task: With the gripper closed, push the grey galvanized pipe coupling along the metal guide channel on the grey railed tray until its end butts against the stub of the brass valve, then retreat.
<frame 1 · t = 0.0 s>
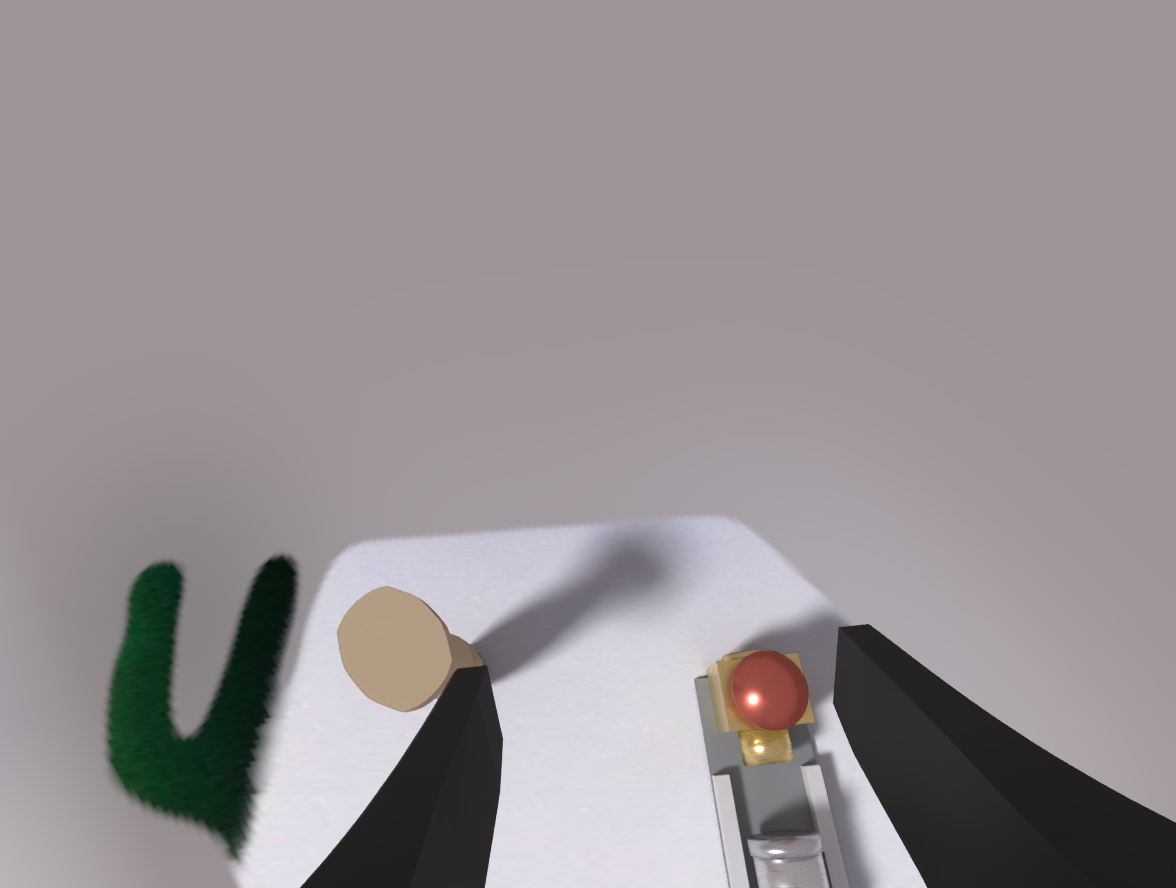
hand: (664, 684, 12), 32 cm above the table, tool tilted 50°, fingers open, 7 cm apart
valve: (747, 696, 41), resting on grey railed tray
grey railed tray: (776, 841, 37), on the table
coupling: (786, 878, 36), resting on grey railed tray
handle: (466, 674, 43), on the table
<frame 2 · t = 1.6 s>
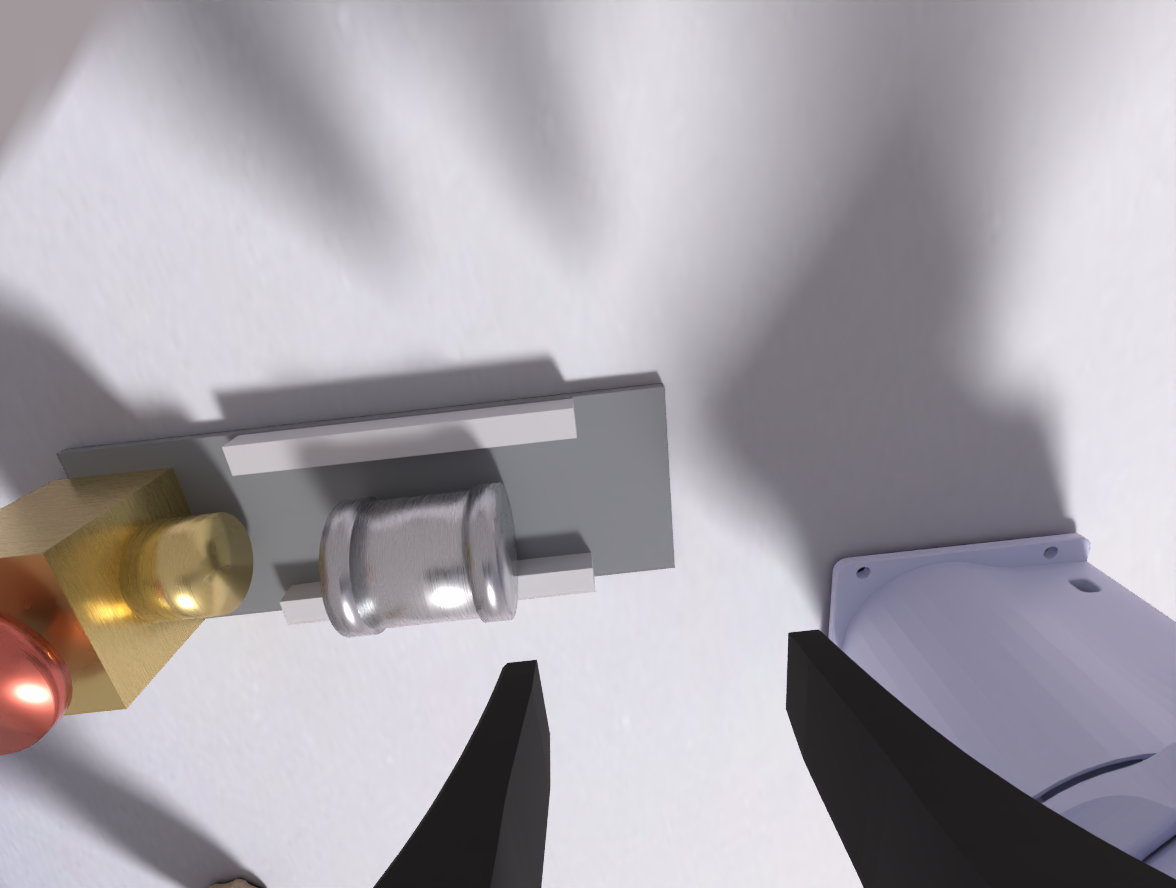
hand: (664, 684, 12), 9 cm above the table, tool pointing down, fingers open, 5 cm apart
valve: (151, 534, 21), resting on grey railed tray
grey railed tray: (387, 508, 21), on the table
coupling: (438, 509, 20), resting on grey railed tray, tilted 18°
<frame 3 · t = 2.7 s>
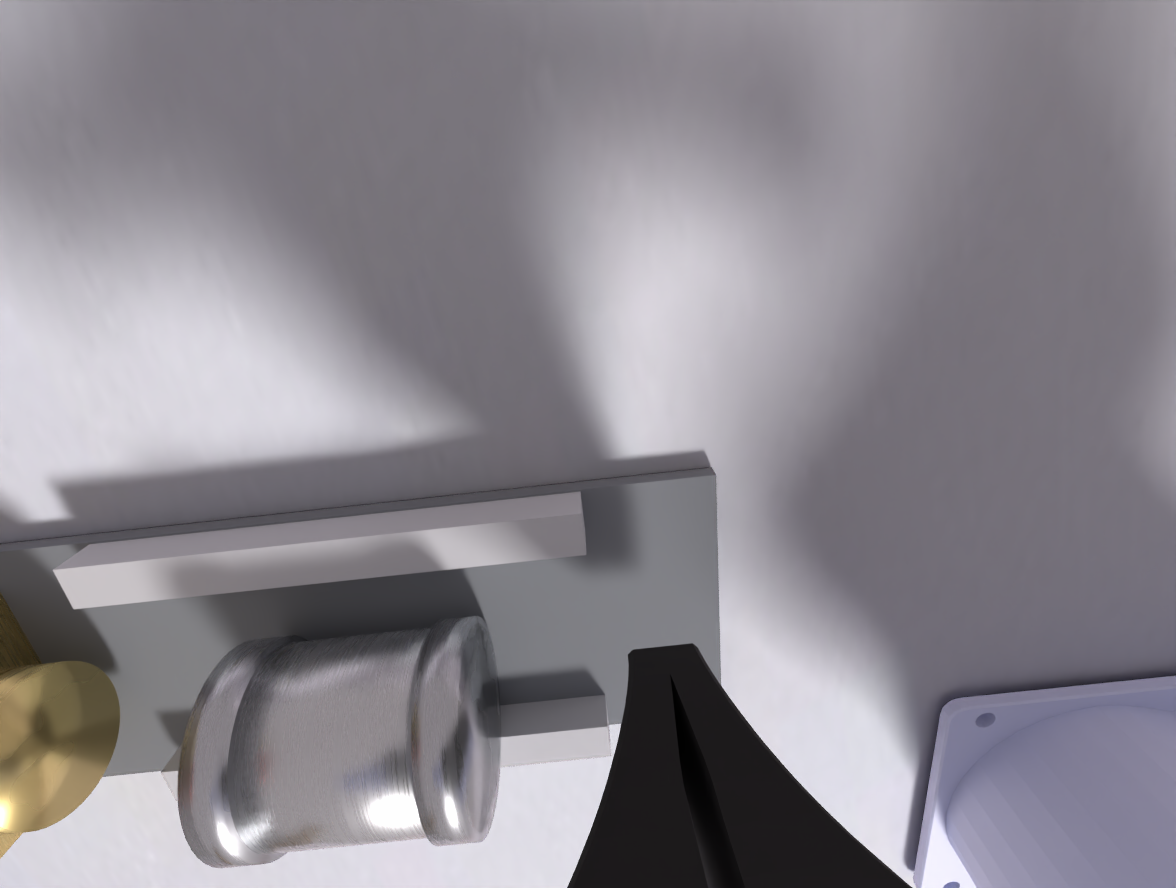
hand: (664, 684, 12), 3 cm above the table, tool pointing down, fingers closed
grey railed tray: (317, 636, 15), on the table
coupling: (386, 642, 14), resting on grey railed tray, tilted 18°
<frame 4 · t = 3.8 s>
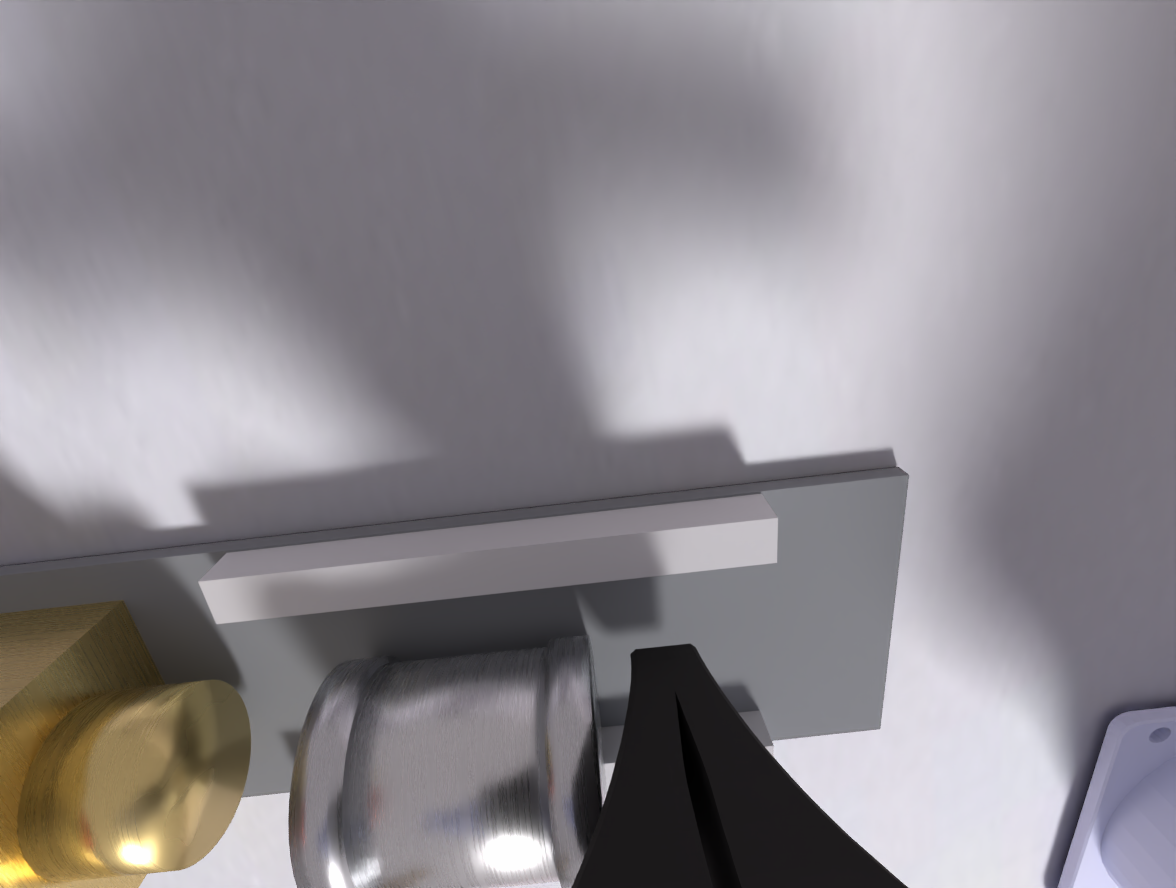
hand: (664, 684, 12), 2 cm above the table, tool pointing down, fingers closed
valve: (96, 689, 14), resting on grey railed tray
grey railed tray: (455, 650, 14), on the table
coupling: (481, 661, 13), resting on grey railed tray, tilted 18°, touching gripper
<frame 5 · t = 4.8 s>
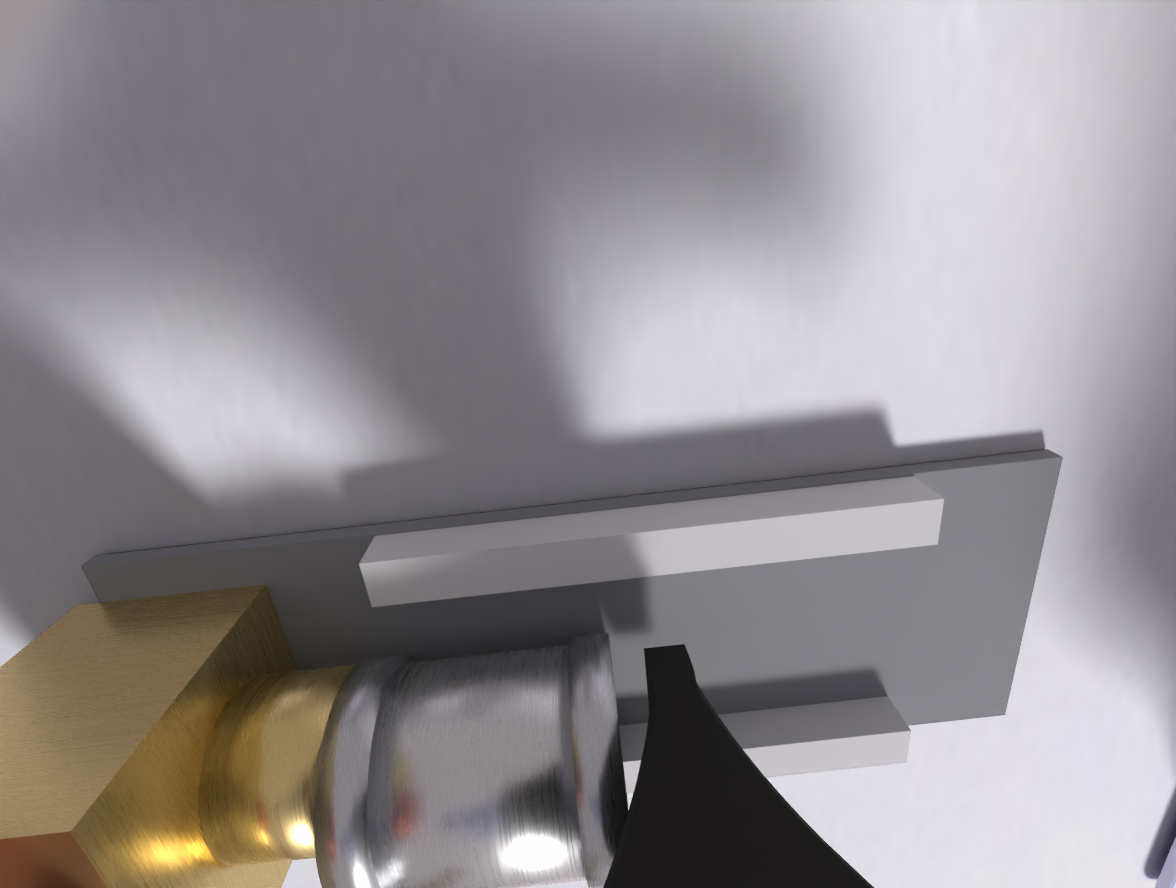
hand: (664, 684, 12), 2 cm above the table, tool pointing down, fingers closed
valve: (223, 676, 14), resting on grey railed tray
grey railed tray: (587, 635, 13), on the table
coupling: (499, 660, 13), point 1 cm above the table, tilted 18°, touching grey railed tray, gripper, valve
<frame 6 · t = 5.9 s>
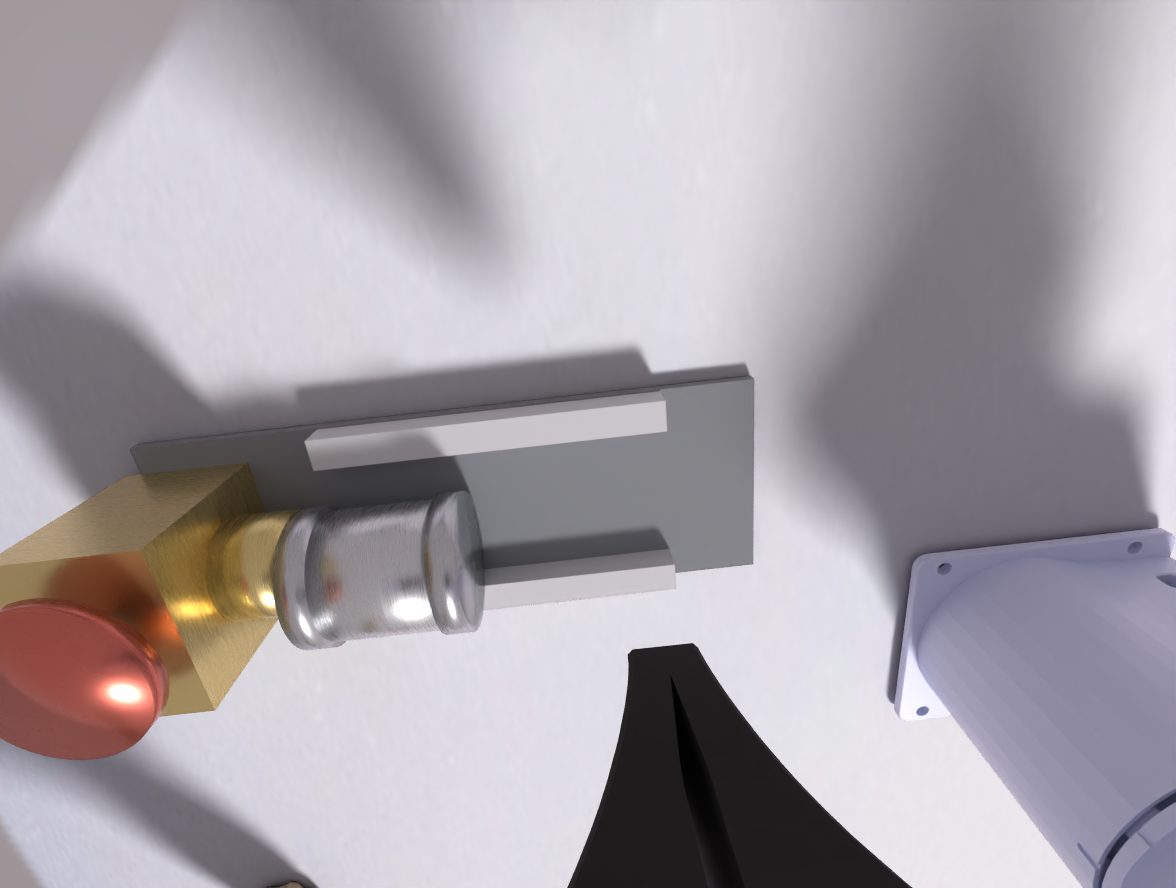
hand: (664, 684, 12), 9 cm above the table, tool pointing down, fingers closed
valve: (221, 531, 20), resting on grey railed tray
grey railed tray: (463, 504, 20), on the table
coupling: (402, 517, 20), point 1 cm above the table, tilted 18°, touching grey railed tray, valve
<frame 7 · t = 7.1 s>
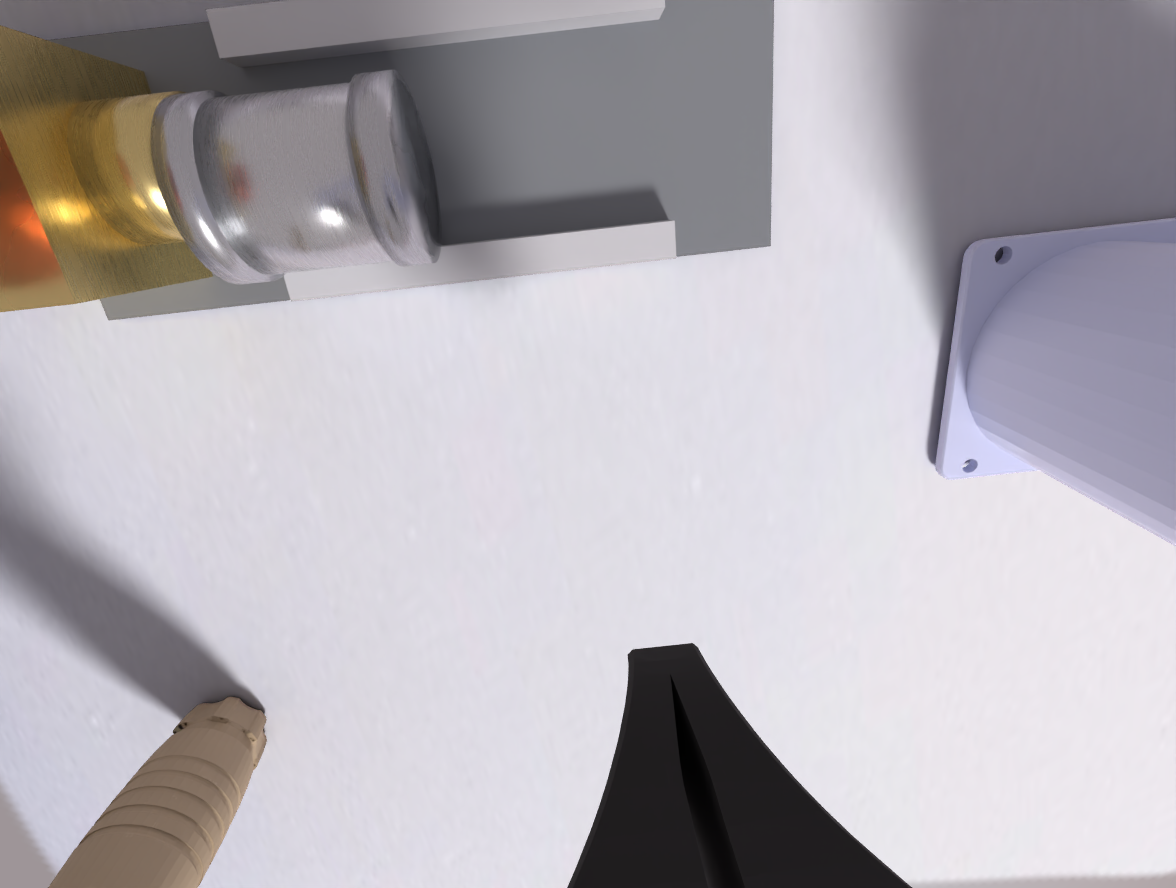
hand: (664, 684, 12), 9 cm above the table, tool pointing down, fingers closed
valve: (119, 188, 17), resting on grey railed tray
grey railed tray: (416, 155, 16), on the table
coupling: (339, 160, 16), point 1 cm above the table, tilted 18°, touching grey railed tray, valve
handle: (235, 717, 24), on the table
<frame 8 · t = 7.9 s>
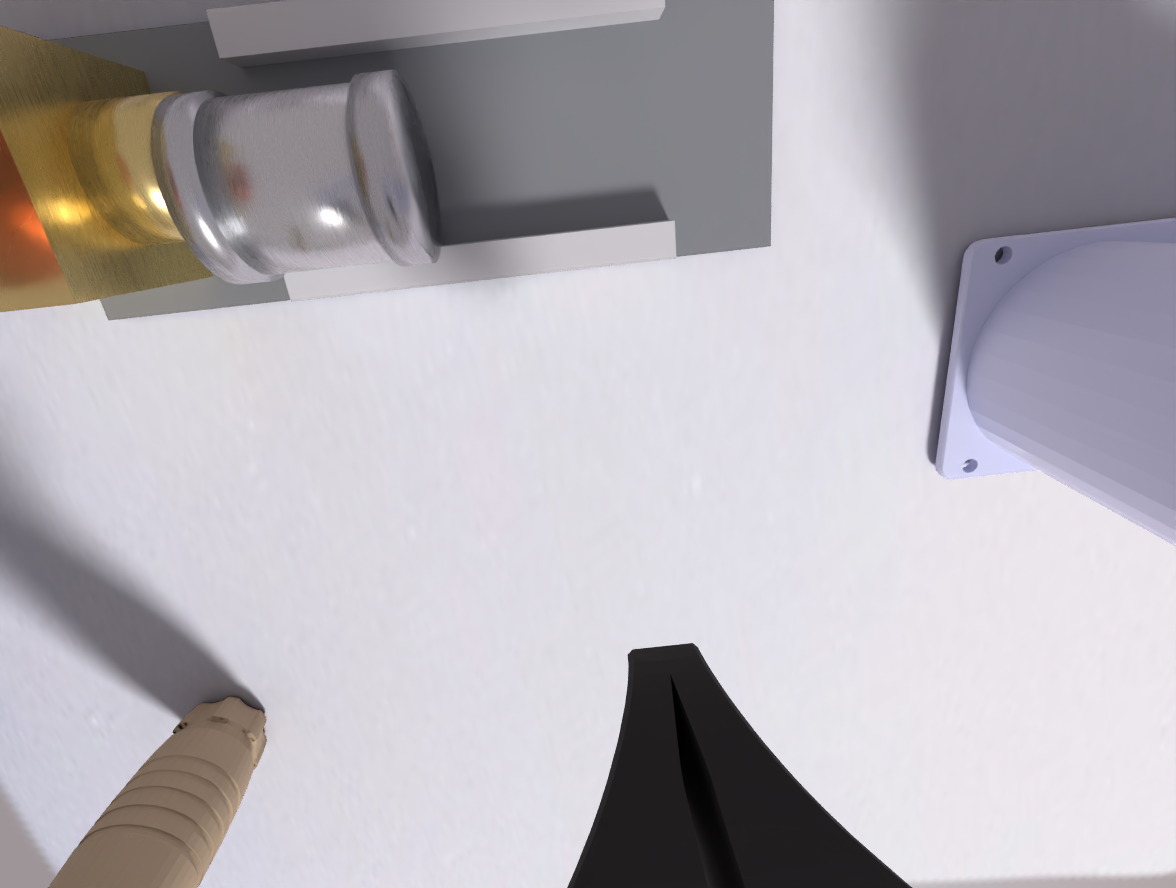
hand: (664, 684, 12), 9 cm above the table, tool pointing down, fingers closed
valve: (119, 188, 17), resting on grey railed tray
grey railed tray: (416, 155, 16), on the table
coupling: (339, 160, 16), point 1 cm above the table, tilted 18°, touching grey railed tray, valve
handle: (235, 717, 24), on the table
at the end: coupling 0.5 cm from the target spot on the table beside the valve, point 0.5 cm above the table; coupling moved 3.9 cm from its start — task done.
